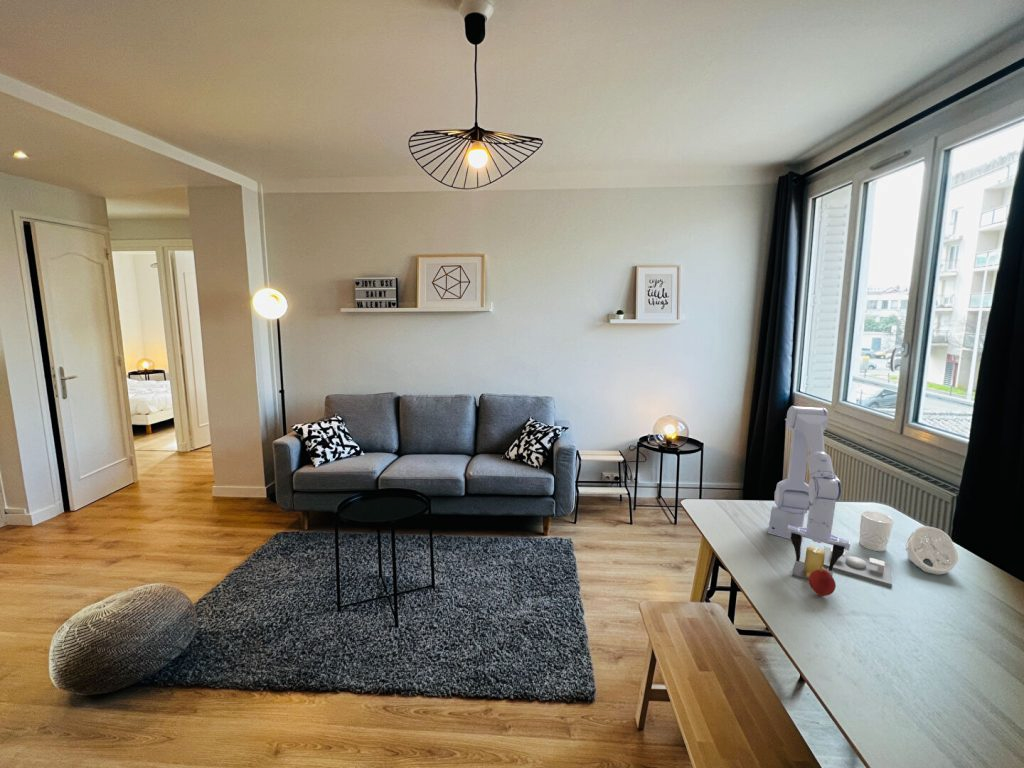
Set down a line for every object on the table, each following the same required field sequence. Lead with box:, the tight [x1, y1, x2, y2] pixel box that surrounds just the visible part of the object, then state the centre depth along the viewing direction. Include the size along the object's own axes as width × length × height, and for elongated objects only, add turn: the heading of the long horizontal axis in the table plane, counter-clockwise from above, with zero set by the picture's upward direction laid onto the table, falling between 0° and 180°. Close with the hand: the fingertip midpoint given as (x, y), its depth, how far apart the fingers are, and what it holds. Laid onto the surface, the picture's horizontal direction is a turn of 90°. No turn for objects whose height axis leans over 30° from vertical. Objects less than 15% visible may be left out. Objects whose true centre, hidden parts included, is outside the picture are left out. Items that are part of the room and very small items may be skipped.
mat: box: [791, 560, 834, 582], centre depth 130 cm, size 9×9×1 cm
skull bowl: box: [905, 525, 959, 575], centre depth 135 cm, size 10×14×12 cm
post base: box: [823, 546, 893, 588], centre depth 134 cm, size 16×12×4 cm
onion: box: [807, 567, 837, 597], centre depth 120 cm, size 6×6×8 cm
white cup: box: [858, 510, 894, 552], centre depth 145 cm, size 8×8×10 cm
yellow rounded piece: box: [804, 546, 825, 577], centre depth 130 cm, size 8×4×7 cm, turn 136°
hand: (813, 564), depth 130 cm, fingers open, 7 cm apart
